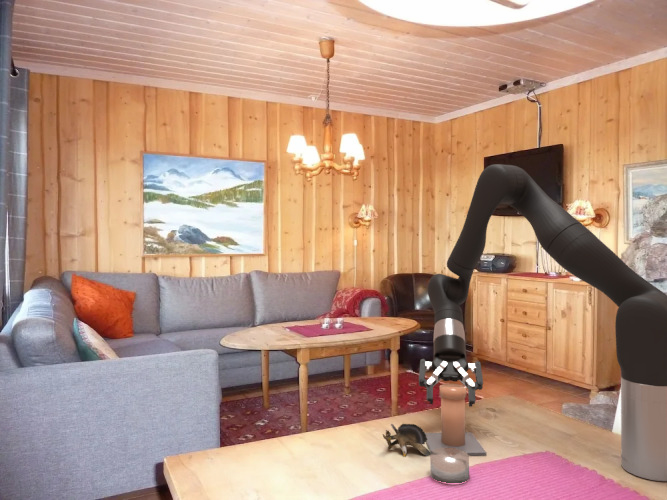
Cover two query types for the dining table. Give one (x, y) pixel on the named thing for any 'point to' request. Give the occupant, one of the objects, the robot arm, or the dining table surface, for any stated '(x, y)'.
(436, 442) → the slate coaster
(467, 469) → the metal tin
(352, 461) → the dining table surface
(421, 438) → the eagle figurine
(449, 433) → the peach dome-topped cylinder
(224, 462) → the dining table surface
